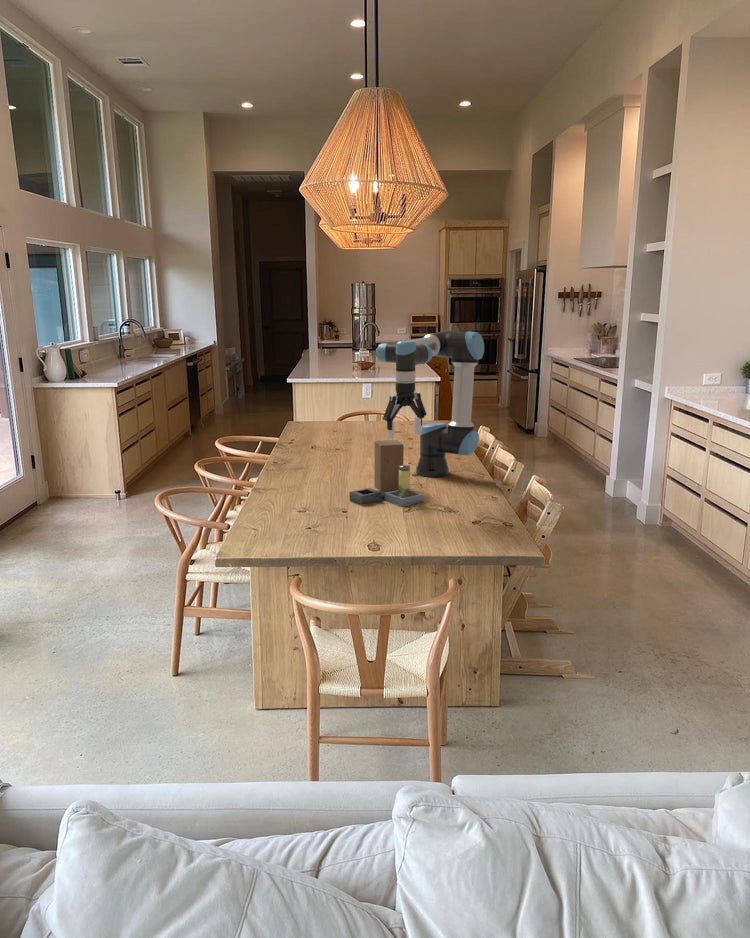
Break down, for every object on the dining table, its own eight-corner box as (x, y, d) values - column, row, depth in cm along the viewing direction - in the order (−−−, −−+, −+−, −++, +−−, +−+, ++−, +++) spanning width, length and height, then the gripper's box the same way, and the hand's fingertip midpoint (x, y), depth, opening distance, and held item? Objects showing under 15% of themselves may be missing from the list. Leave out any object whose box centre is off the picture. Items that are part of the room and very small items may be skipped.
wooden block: (380, 492, 306) (380, 445, 301) (374, 486, 315) (374, 440, 311) (403, 490, 309) (404, 444, 304) (396, 484, 318) (396, 439, 313)
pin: (404, 496, 297) (405, 464, 293) (411, 499, 293) (412, 466, 290) (396, 498, 294) (396, 465, 291) (403, 501, 291) (403, 467, 287)
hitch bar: (384, 493, 305) (384, 484, 304) (397, 497, 298) (397, 489, 298) (349, 500, 294) (349, 491, 293) (361, 505, 288) (361, 496, 287)
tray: (405, 495, 301) (405, 488, 300) (423, 501, 293) (423, 494, 292) (384, 500, 295) (384, 493, 294) (402, 506, 286) (402, 499, 285)
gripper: (423, 378, 293) (422, 431, 298) (373, 383, 278) (373, 438, 283) (436, 380, 287) (434, 433, 292) (386, 385, 272) (385, 441, 277)
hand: (404, 436), depth 288 cm, fingers open, 13 cm apart
